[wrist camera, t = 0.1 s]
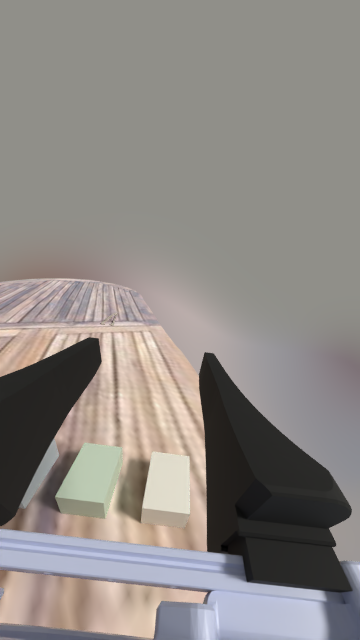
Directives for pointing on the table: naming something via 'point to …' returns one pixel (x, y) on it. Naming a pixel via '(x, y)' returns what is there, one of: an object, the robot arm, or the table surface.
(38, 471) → the block bluegrey
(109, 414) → the table surface
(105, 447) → the block sage
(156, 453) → the block cream
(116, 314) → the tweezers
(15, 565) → the robot arm
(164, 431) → the table surface
